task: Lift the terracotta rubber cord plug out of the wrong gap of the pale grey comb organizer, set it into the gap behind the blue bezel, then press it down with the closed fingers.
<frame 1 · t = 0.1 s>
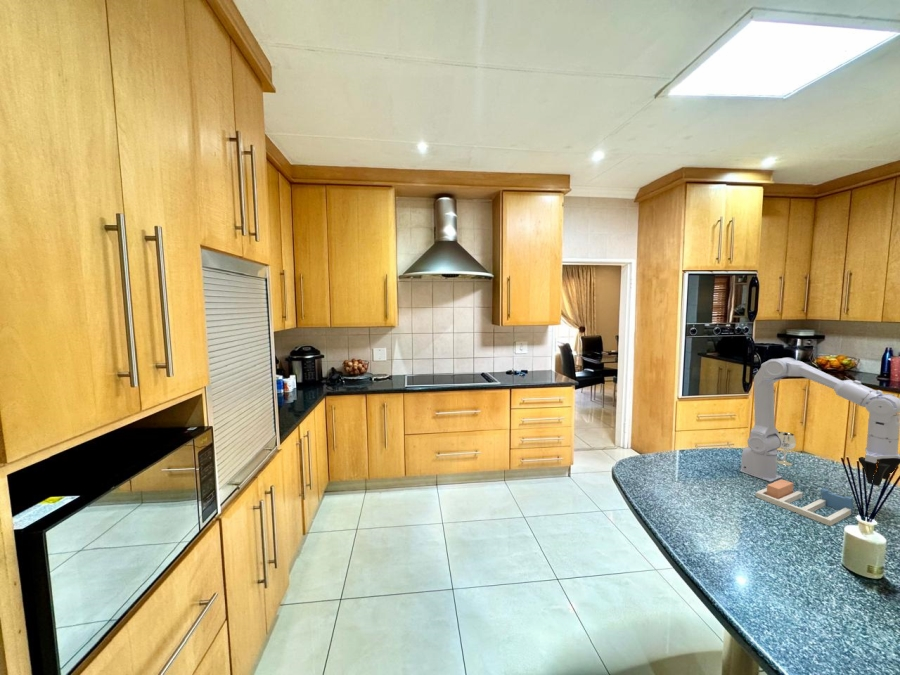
hand: (879, 481, 102), 10 cm above the kitchen island countertop, fingers open, 7 cm apart
blue bezel: (836, 508, 107), on the kitchen island countertop
cord plug: (779, 497, 114), resting in comb organizer
wineglass: (784, 463, 138), on the kitchen island countertop
comb organizer: (801, 504, 109), on the kitchen island countertop
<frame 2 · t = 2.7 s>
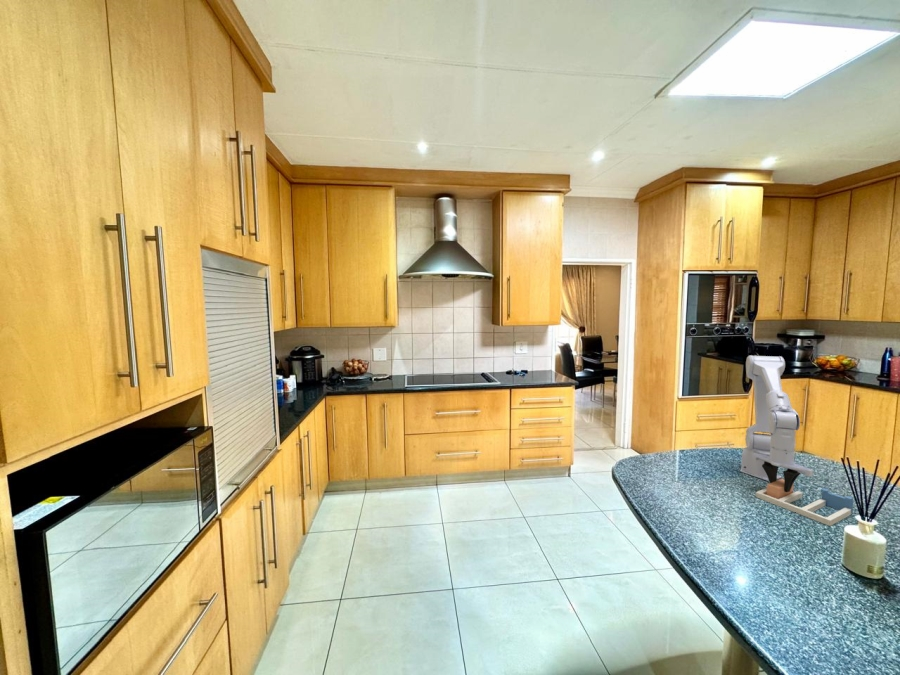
hand: (780, 488, 114), 3 cm above the kitchen island countertop, fingers closed on cord plug, 3 cm apart
cord plug: (779, 496, 114), resting in comb organizer, touching gripper
everything else where it was.
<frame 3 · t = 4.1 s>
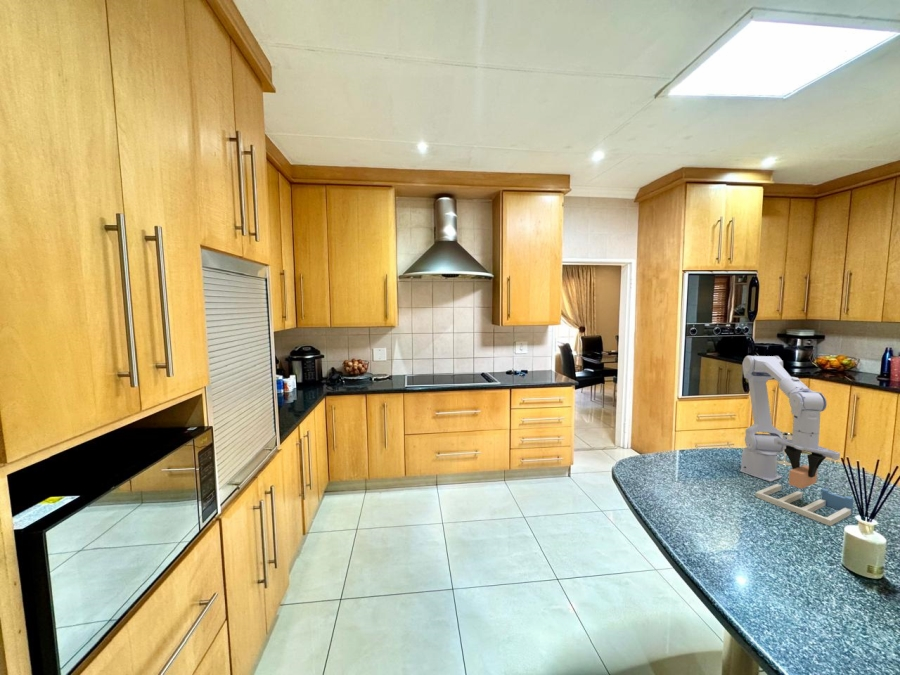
hand: (803, 474, 108), 10 cm above the kitchen island countertop, fingers closed on cord plug, 3 cm apart
cord plug: (802, 483, 108), point 7 cm above the kitchen island countertop, touching gripper
everything else where it was.
when the fingers open (4 cm above the kitchen island countertop, at t = 5.9 s): cord plug stays where it is, resting in comb organizer.
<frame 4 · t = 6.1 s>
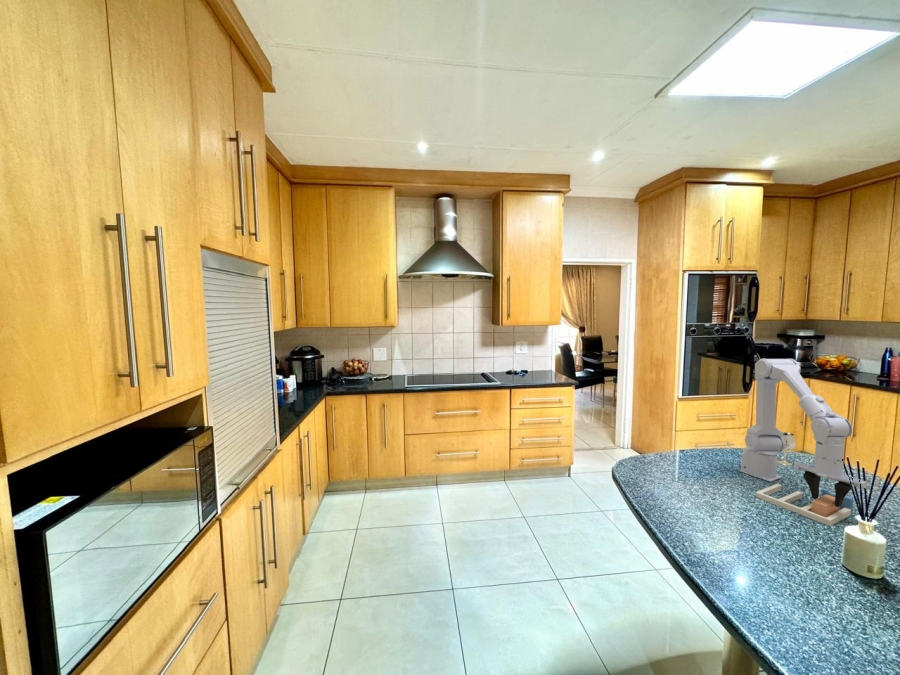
hand: (826, 501, 104), 4 cm above the kitchen island countertop, fingers open, 4 cm apart
cord plug: (825, 514, 104), resting in comb organizer
everything else where it was.
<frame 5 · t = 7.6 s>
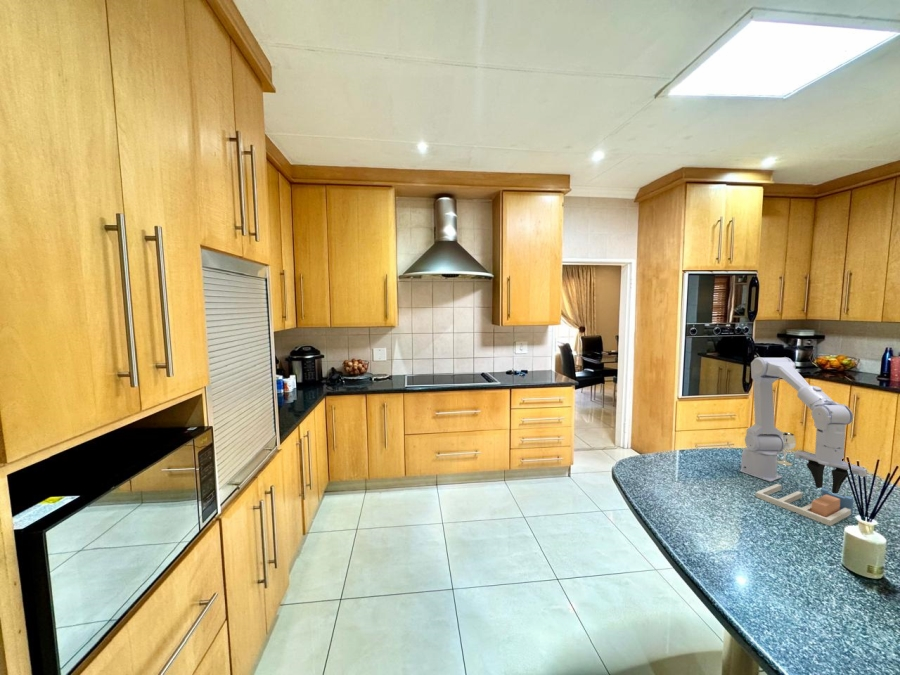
hand: (827, 489, 103), 7 cm above the kitchen island countertop, fingers open, 3 cm apart
nothing on the kitchen island countertop moved.
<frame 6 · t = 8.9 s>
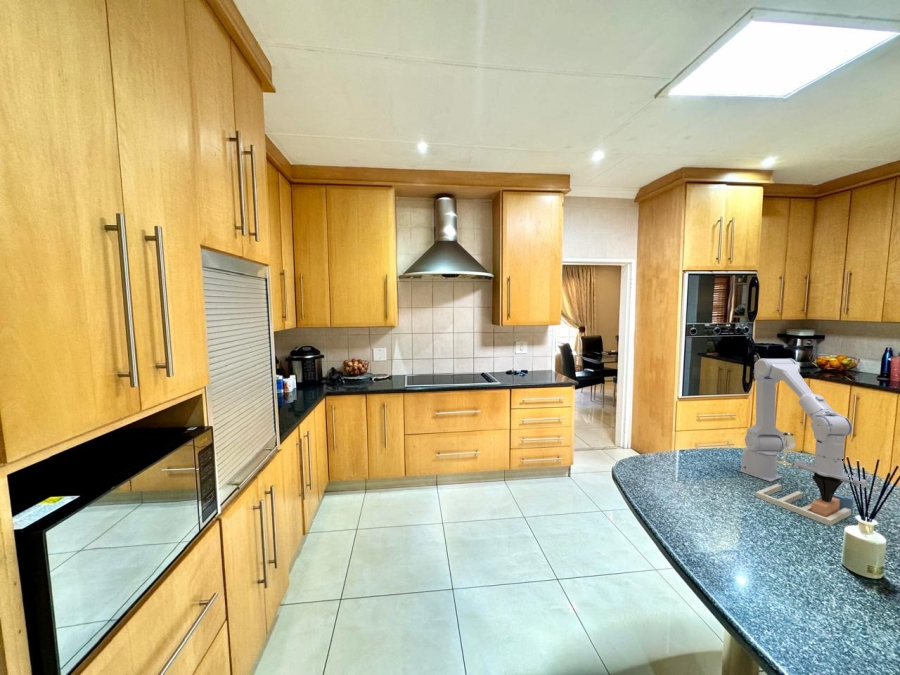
hand: (826, 500, 104), 4 cm above the kitchen island countertop, fingers closed, pressing on cord plug
cord plug: (825, 515, 104), resting in comb organizer, touching gripper
everything else where it was.
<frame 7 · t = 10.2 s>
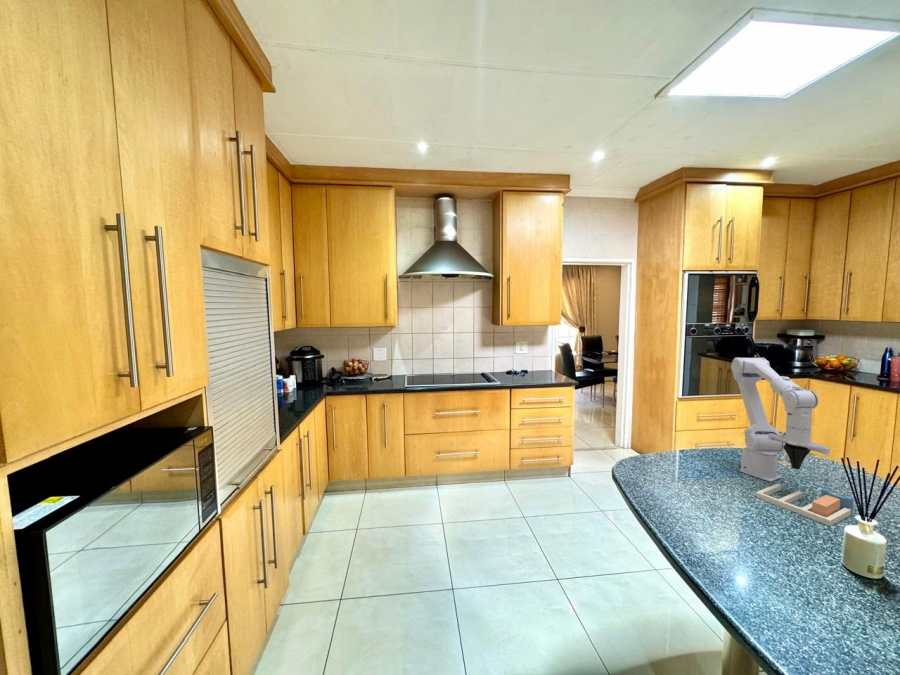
hand: (796, 468, 114), 9 cm above the kitchen island countertop, fingers closed
cord plug: (825, 515, 104), resting in comb organizer
everything else where it was.
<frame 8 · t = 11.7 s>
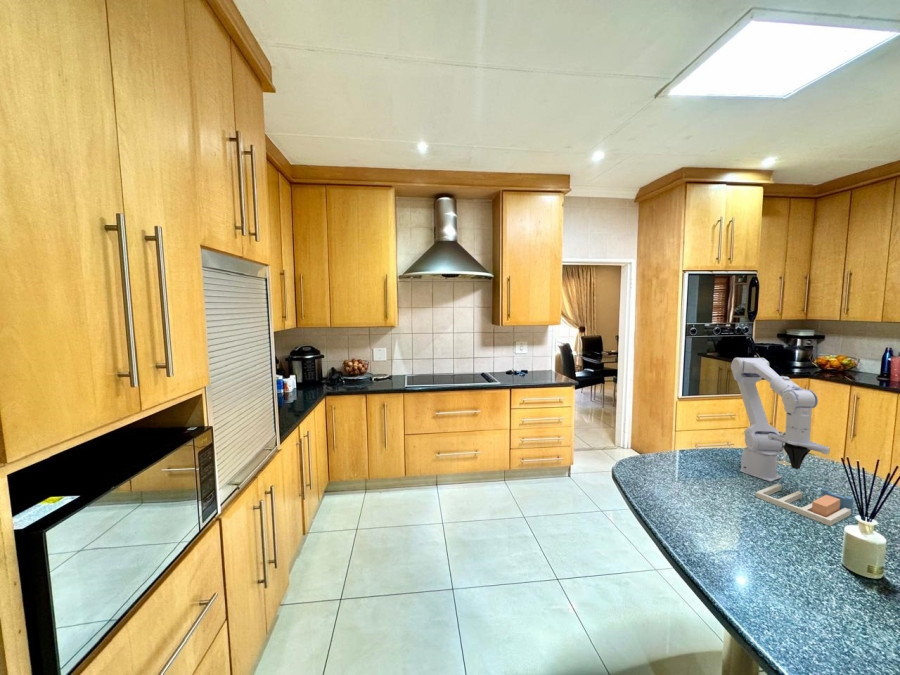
hand: (795, 467, 114), 9 cm above the kitchen island countertop, fingers closed
nothing on the kitchen island countertop moved.
at the end: cord plug 0.5 cm from the target spot, resting in comb organizer; cord plug tilted 0°; the gripper is holding nothing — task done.
